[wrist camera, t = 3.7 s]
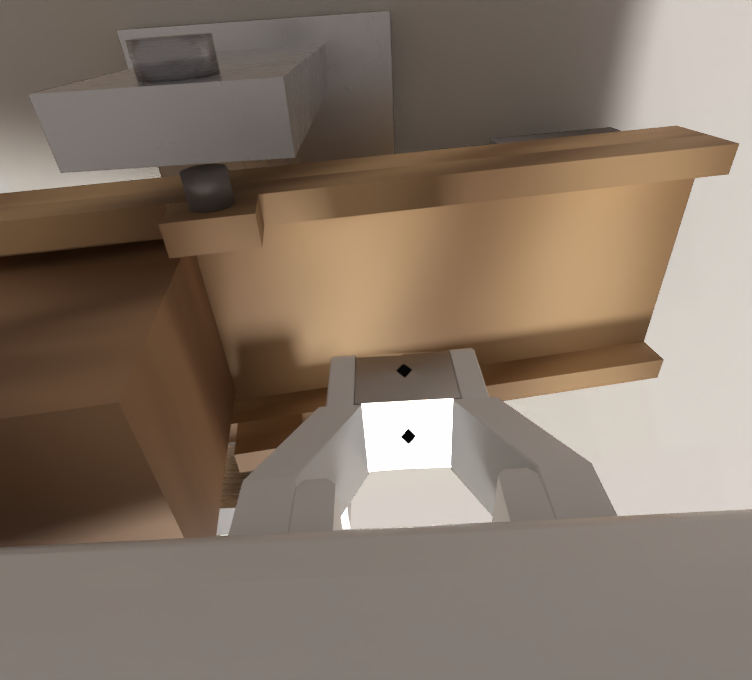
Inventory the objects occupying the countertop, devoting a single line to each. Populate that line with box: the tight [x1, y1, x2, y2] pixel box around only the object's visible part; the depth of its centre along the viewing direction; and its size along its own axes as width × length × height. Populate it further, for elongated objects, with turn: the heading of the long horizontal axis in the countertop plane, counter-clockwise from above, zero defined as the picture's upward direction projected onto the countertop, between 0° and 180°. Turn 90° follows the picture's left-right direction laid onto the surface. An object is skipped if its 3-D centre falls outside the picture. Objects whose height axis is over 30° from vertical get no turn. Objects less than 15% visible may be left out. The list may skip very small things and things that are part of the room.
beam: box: [0, 126, 739, 473], centre depth 14 cm, size 24×8×6 cm, turn 93°
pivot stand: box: [28, 11, 395, 535], centre depth 15 cm, size 8×13×9 cm, turn 3°
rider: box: [0, 239, 236, 547], centre depth 10 cm, size 5×5×6 cm
